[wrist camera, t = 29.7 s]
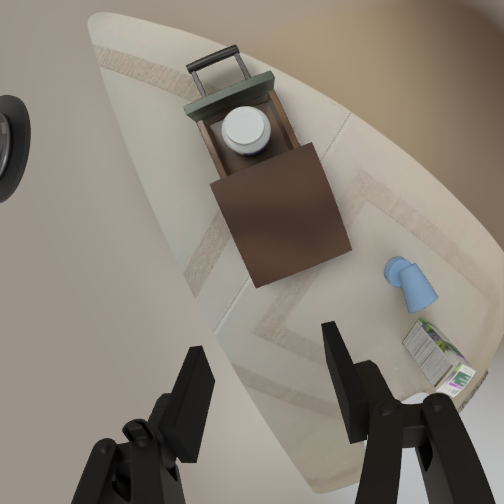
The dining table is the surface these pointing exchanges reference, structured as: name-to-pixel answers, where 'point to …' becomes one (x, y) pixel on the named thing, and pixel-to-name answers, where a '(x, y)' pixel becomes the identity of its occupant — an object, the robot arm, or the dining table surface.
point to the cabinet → (282, 215)
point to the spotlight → (410, 283)
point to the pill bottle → (246, 131)
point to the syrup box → (438, 358)
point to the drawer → (233, 96)
